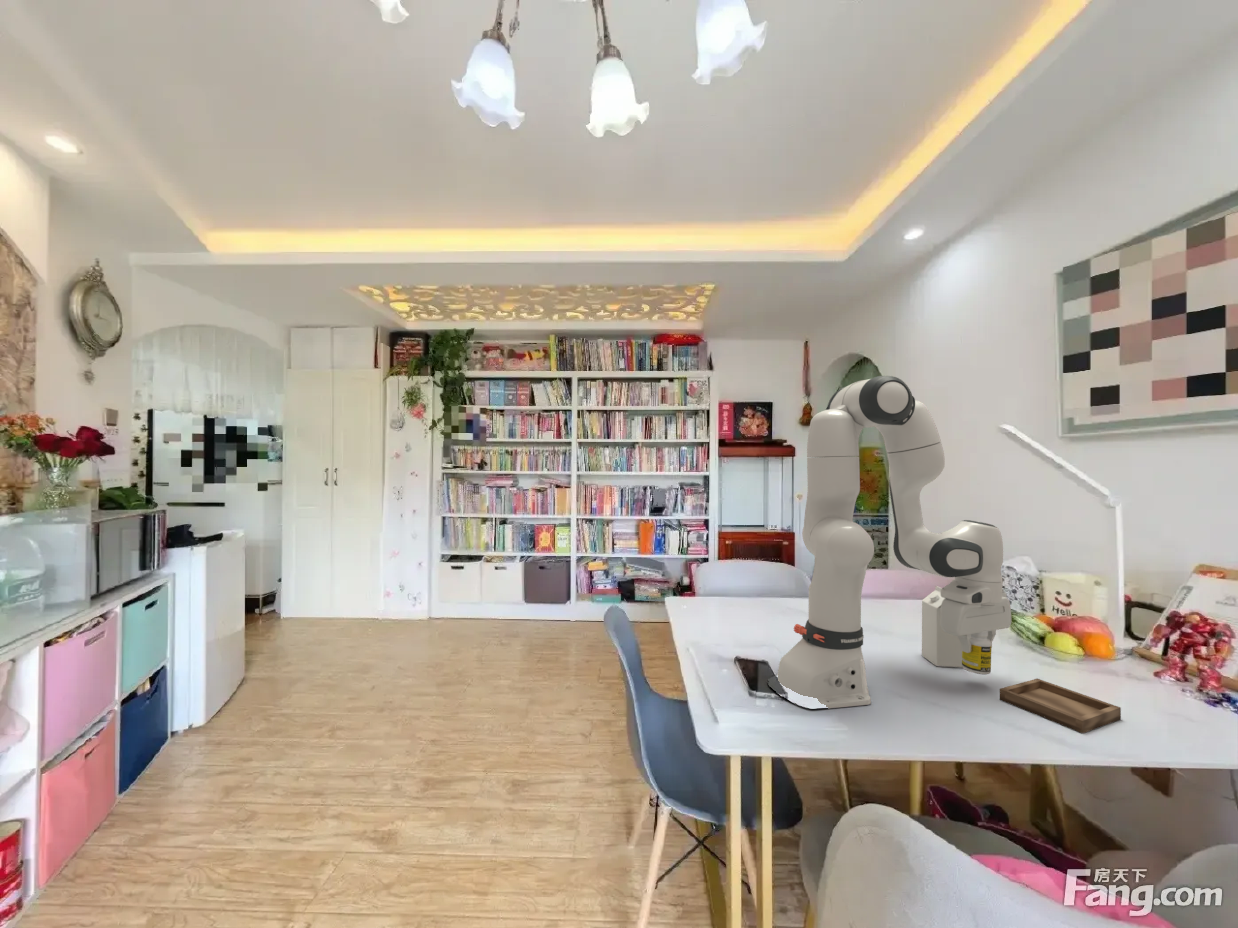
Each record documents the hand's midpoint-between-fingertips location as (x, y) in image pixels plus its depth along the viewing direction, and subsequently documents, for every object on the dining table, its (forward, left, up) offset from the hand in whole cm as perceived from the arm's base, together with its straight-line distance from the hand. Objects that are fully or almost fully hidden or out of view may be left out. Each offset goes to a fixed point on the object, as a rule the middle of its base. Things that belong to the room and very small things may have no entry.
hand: (976, 649), depth 109 cm
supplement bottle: (0, 0, -5) cm, 5 cm away
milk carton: (+6, +12, -9) cm, 16 cm away
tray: (+4, -13, -8) cm, 16 cm away
